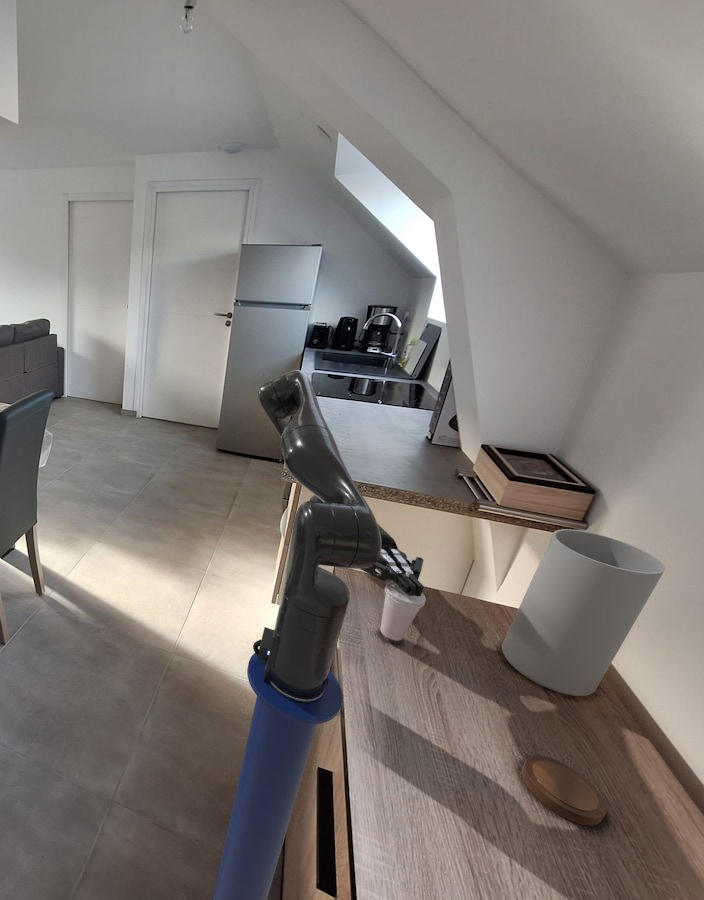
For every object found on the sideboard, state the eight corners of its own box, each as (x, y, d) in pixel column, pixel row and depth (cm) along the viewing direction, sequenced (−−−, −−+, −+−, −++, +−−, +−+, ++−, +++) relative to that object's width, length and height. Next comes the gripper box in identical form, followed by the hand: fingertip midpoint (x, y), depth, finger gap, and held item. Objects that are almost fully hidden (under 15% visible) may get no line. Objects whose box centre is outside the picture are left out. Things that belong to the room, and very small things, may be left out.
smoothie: (371, 617, 90) (390, 558, 85) (408, 628, 88) (430, 568, 83) (373, 638, 85) (393, 576, 80) (413, 650, 82) (436, 588, 77)
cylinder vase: (492, 633, 89) (541, 522, 80) (576, 658, 84) (639, 542, 75) (511, 679, 78) (569, 557, 69) (608, 711, 73) (685, 583, 64)
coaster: (531, 805, 59) (536, 797, 59) (513, 752, 66) (517, 745, 65) (614, 838, 56) (620, 830, 55) (586, 779, 63) (591, 772, 62)
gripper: (393, 555, 97) (448, 611, 80) (330, 552, 97) (372, 607, 81) (403, 525, 94) (462, 576, 78) (338, 521, 94) (383, 572, 78)
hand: (416, 592), depth 79 cm, fingers closed on smoothie, 1 cm apart
